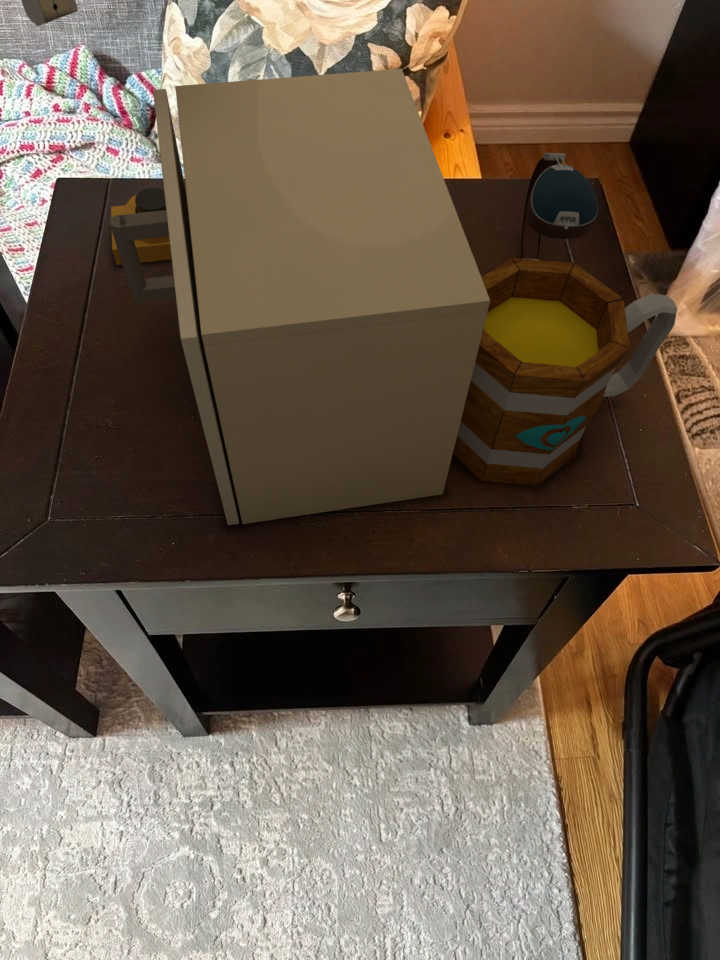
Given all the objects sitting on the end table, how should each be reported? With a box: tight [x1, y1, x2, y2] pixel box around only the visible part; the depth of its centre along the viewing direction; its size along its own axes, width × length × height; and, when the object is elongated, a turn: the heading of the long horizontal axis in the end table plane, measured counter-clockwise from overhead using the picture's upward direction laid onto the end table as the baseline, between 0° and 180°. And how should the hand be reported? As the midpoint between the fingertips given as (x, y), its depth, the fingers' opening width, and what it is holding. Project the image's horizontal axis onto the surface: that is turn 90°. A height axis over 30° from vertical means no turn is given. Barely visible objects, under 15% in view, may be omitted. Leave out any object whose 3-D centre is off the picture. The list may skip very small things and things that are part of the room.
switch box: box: [110, 194, 172, 266], centre depth 82 cm, size 10×7×4 cm
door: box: [109, 88, 240, 526], centre depth 61 cm, size 7×26×24 cm, turn 12°
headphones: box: [520, 152, 599, 260], centre depth 74 cm, size 6×15×22 cm
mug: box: [452, 257, 678, 486], centre depth 66 cm, size 20×14×15 cm
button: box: [135, 187, 166, 213], centre depth 80 cm, size 4×4×2 cm
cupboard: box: [174, 68, 490, 525], centre depth 63 cm, size 18×26×24 cm
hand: (53, 16), depth 50 cm, fingers closed
